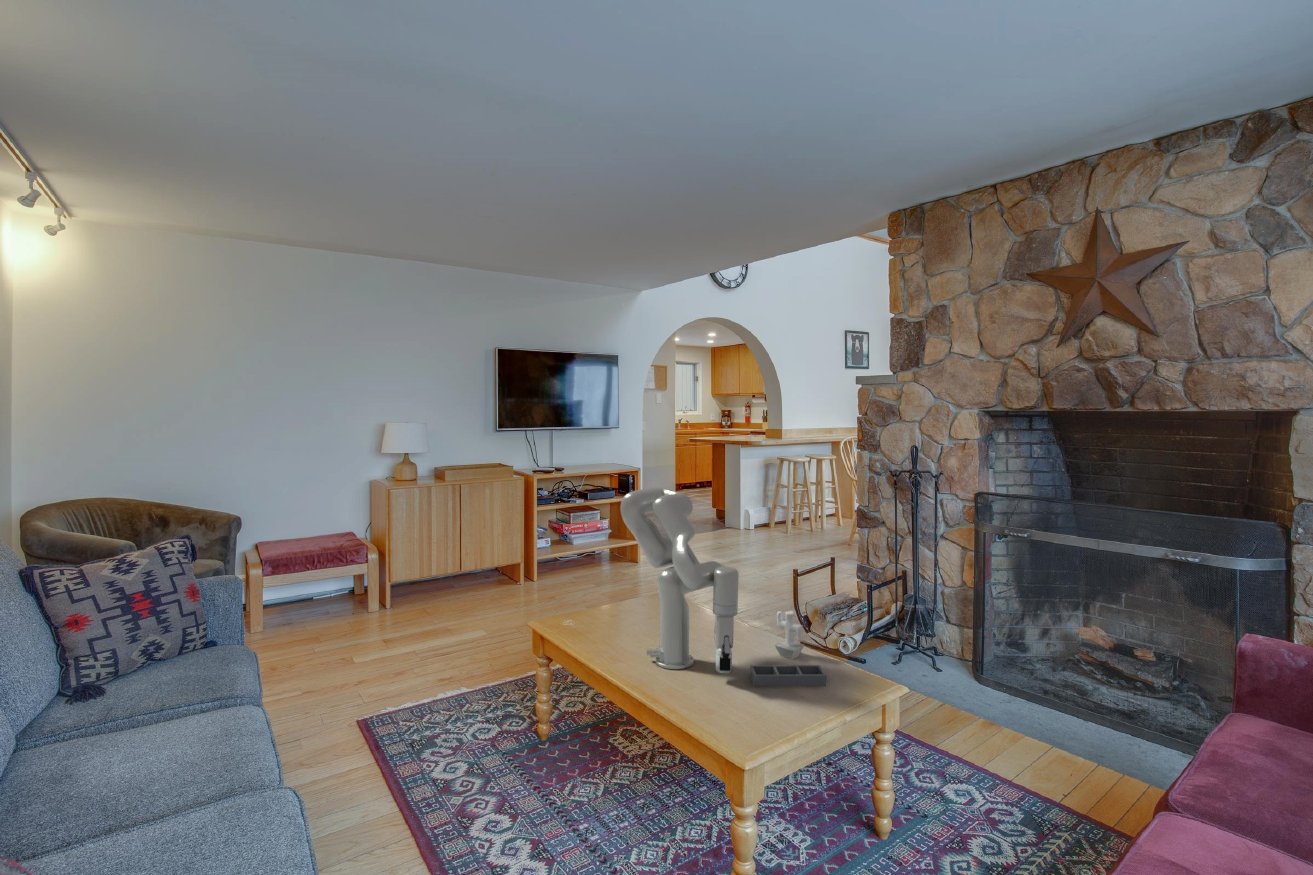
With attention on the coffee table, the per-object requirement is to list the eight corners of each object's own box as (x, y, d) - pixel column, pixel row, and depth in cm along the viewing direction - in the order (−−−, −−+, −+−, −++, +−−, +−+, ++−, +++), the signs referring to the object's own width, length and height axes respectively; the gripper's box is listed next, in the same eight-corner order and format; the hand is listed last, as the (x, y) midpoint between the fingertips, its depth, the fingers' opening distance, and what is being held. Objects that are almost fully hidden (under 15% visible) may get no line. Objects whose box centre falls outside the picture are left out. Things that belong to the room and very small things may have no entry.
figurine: (796, 662, 212) (796, 617, 211) (771, 655, 218) (772, 611, 217) (807, 656, 217) (807, 612, 216) (783, 649, 223) (783, 606, 223)
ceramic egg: (716, 673, 195) (716, 648, 195) (714, 666, 200) (715, 642, 200) (732, 673, 195) (733, 649, 195) (730, 666, 200) (731, 642, 200)
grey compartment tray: (754, 686, 193) (754, 675, 193) (750, 675, 201) (750, 665, 201) (826, 686, 194) (826, 675, 194) (819, 675, 201) (819, 664, 201)
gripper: (710, 599, 205) (709, 654, 206) (715, 617, 188) (714, 678, 189) (733, 599, 205) (732, 655, 206) (741, 617, 188) (739, 678, 189)
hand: (723, 665), depth 198 cm, fingers closed on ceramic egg, 5 cm apart
